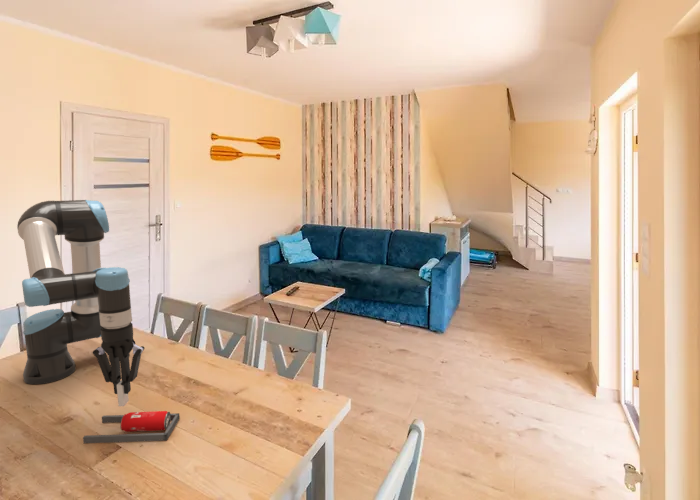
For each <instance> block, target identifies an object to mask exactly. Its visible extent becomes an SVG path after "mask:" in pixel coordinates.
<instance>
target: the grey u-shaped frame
mask: <svg viewBox="0 0 700 500" xmlns="http://www.w3.org/2000/svg"><path fill="white" fill-rule="evenodd" d="M170 414H171V421H170V425H169V427H168V428H167V429H165V430H164V431H165V432H156V433H155V432H154V433H121V434H97V435H96V434H95V435H94V434H90V435H83V437H82V440H83V441H82V443H83V444H100V443H101V444H102V443H103V444H105V443H132V442H133V443H135V442H158V441H159V442H161V441H162V442H163V441H165V442H166V441H168V440H169V438H170V436H171V434H172V433H173V431H174V429H175V428H176V426H177V424H178V422H179V421H180V413H170ZM124 415H125V414H115V415H114V414H113V415H112V414H110V415H102V416H101V423H103V424H105V423H106V424H107V423H121V420H122V418H123V416H124Z"/></svg>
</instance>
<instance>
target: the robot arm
mask: <svg viewBox="0 0 700 500" xmlns="http://www.w3.org/2000/svg"><path fill="white" fill-rule="evenodd" d="M109 224H110V223H109V219H108V215H107V212H106V209H105V207H104V205H103V203H102V202H101V201H99V200H89V199H75V200H73V199H72V200H71V199H69V200H46V201H45V200H44V201H41V202H38V203H35V204H33V205H31V206H30V207H29V208H27V209H26V210H25V211H24V212H23V213H22V214H21V215H20V217H19V220H18V221H17V224H16V225H17V226H16V227H17V234H18V236H19V238H21V239H22V241H23V243H24V249H25V255H26V256H25V257H26V261H27V266H28V274H29V278H25V279H23V280H22V281H21V288H22V293H23V300H24V301H23V302H24V305H25V306H26V307H29V308H33V307H42V306H43V307H46V306H51V305H55V304H56V305H57V304H62V303H69V302H74V303H73V304H72V305H71V306H70V311H67V312H65V311H64V310H63V309H61V308H55V309H54V308H52V309H47V310H42V311H40V312H37V313H34V314H32V315H30V316H28V317H26V319H24V321H23V332H22V333H23V336H24V341H25V349H26V350H25V351H26V356H27V357H26V358H27V359H26V362H25V366H24V370H23V374H22V377H23V382H24V383H25V384H28V385H43V384H49V383H53V382H56V381H60V380H62V379H64V378H67V377H69V376H71V374H73V373H74V372H75V371H76V368H77V367H76V362H75V360H74V359H73V357H72V355H71V353H70V352H69V350H68V344H69V345H70V344H73V343H78V342H83V341H88V340H93V339H99V338H101V341H102V342H101V344H100V346H98V347H97V348H95V349H94V350H93V351H92V355H93V356H95V357H94V358H96V360H97V363H98V365H99V367H100V371H101V373H102V375H103V377H104V381H105V382H106V383H112V385H113V393H114V395H117V404H118V405H117V406H118V407H125V406H126V405H127V403H128V402H129V401H130V400H129V399H130V398H129V393H130V392H131V383H133V381H134V380H135V379H136V378H137V377H138V374H139V367H140V362H141V357H142V354H143V353H144V350H145V347H144V345H142V346H139V345H138V344H136V341H135V339H134V327H133V323H132V322H133V316H132V314H133V313H132V303H131V293H130V278H129V272H128V270H127V269H126V268H125V267H118V266H116V267H115V266H114V267H102V266H101V265H102V264H101V263H102V262H101V246H100V244H101V243H100V242H101V241H103V240H104V239H105V234H107V233H109V232H110V225H109ZM56 236H64V240H65V241H66V242H68V243H69V244H70V253H71V265H72V273H67V274H66V273H65V271H64V267H63V264H62V259H61V256H60V255H61V254H60V252H59V248H58V243H57V241H56V240H57V239H56ZM131 351H132V354H133V356H132V359H131V365H130V356H131V355H130V353H131Z"/></svg>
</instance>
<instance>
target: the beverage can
mask: <svg viewBox="0 0 700 500" xmlns="http://www.w3.org/2000/svg"><path fill="white" fill-rule="evenodd" d="M171 414H172V413H171V412H170V411H167V410H159V411H157V410H155V411H154V410H152V411H134V412H133V411H132V412H128V413H125V414H123V415H124V416H123V418H122V420H121V422H120V429H121V431H123V432H125V433H131V432H132V433H135V432H136V433H137V432H156V431H158V432H159V431H166V430H167V428H168V427H169V425H170V423H171V422H172V421H171Z"/></svg>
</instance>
